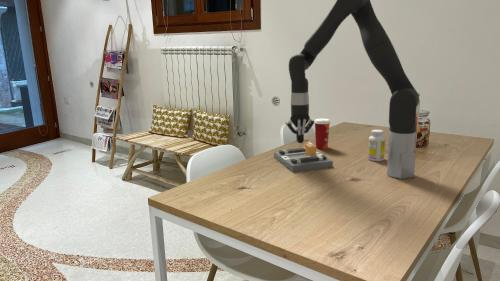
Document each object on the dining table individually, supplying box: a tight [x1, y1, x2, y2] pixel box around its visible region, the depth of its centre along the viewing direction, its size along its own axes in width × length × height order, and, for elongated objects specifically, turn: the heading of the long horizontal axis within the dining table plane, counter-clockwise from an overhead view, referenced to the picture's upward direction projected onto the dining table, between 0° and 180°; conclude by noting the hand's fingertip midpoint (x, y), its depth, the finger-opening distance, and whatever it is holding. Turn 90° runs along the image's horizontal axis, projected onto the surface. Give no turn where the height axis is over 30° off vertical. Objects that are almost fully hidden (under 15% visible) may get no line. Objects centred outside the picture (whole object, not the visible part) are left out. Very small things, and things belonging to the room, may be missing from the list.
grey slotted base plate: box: [279, 147, 327, 164], centre depth 168 cm, size 17×15×4 cm
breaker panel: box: [273, 150, 334, 173], centre depth 168 cm, size 22×18×3 cm
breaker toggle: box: [304, 141, 317, 156], centre depth 169 cm, size 5×3×5 cm, turn 16°
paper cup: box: [314, 117, 331, 150], centre depth 188 cm, size 8×8×14 cm
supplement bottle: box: [367, 129, 386, 162], centre depth 167 cm, size 7×7×13 cm
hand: (300, 142), depth 167 cm, fingers closed
